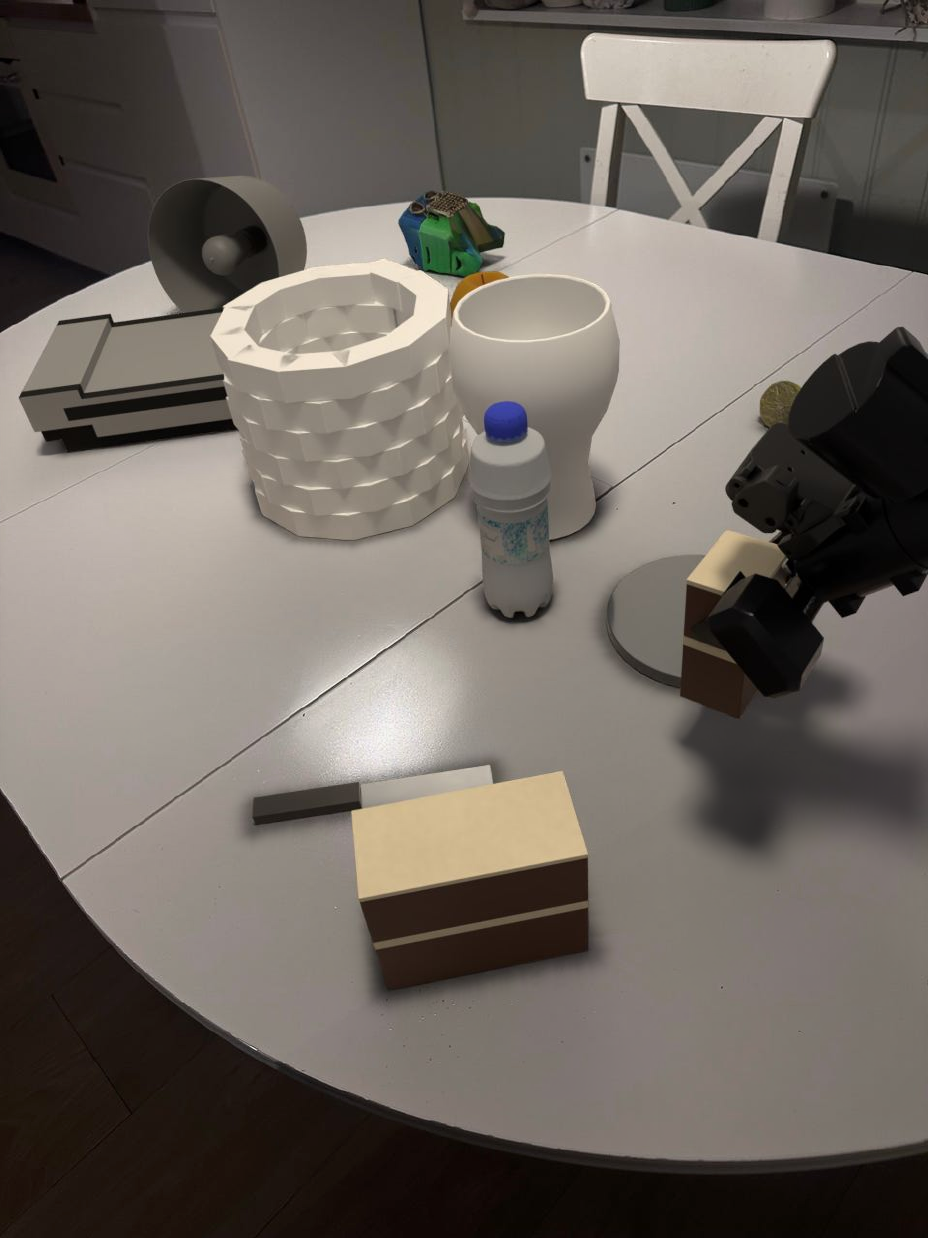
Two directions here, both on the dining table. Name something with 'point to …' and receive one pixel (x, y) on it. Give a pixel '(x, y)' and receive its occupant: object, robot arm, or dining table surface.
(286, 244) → the light fixture
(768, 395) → the lime
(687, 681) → the cake slice
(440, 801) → the cake
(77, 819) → the dining table surface
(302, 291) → the basket
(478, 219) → the sculpture
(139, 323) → the game console
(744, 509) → the robot arm
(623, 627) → the plate
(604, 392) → the white vase
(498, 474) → the bottle
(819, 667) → the dining table surface
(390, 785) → the cake knife
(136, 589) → the dining table surface
